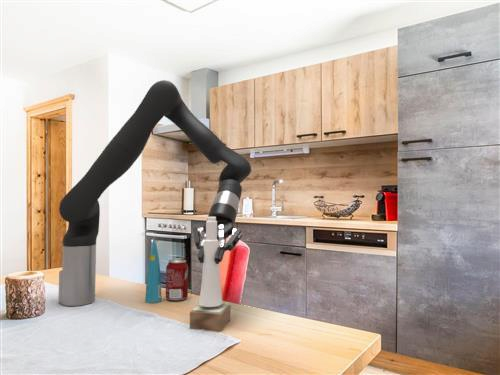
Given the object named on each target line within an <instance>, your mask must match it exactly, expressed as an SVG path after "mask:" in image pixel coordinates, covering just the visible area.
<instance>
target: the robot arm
mask: <svg viewBox="0 0 500 375" xmlns="http://www.w3.org/2000/svg"><path fill="white" fill-rule="evenodd" d="M164 117H165V118H166V119H168V120H169V121H170V122H172V123H173V124H174V125H175V126H176V127H177V128H179V129H180V131H182V132H183V133H184V135H186V137H187V138H188V139H189V141H190V142H192V144H193V145H194V146H195V147H196V148H197V150H198V151H199V152H200V153H201V154H202V155H203V156H204V157H205V158H206V160H208V161H209V162H210V163H211V164H213V165H215V164H218V163H220V162H224V163H225V164H227V165H226V166H224V167H223V169H222V170H221V171H220V173H219V177H218V178H219V179H218V188H217V192H216V195H215V196H214V198H213V201H212V202H211V203H212V204H211V207H210V210H209V212H208V216H207V217H216V221H217V240H218V241H219V247H218V249H217V252H216V255H215V263H216V264H219V265H220V263H221V262H223V258H224V255H225V252H226V251H229V252H232V251H233V250H234V248H235V247H236V245H237V244H238V243H239V242H240V240H241V239H242V238H243V232H242V229H241V228H239V227H238V228H234V226H235V224H236V219H237V216H238V213H239V207H240V201H241V198H242V193H243V188H242V185H241V183H242V182H243V181H244V180H246V178H247V177H249V175H250V174H251V172H252V166H251V163H250V162H249V161H248V160H249V159H247V157H244V156H243V155H242V154H239V153H238V152H237V151H235V150H233V149H232V148H230V147H228V145H226V144H225V143H224V142H223V141H222V140H221V139H220V138H219V137H218V135H216V134H215V133H214V132H213V131H212V129H210V128H209V127H208V126H206V125H205V124H204V123H203V122H201V121H200V120H199V118H197V117H196V116H195V115H194V114H193V113H192V112H191V110H190V109H189V107H188V106H187V105H186V104H185V102H184V101H183V99H182V97H181V93H180V92H179V90H178V87H177V86H176V85H175V84H174V83H173V82H172V81H170V80H165V79H164V80H158V81H156V82H154V84H152V85H151V86H150V87H149V89H148V91H146V94H145V95H144V97H143V99H142V100H141V102H140V104H139V105H138V106H137V108H136V110H135V111H134V112H133V114H132V115H131V116H130V117H129V118H128V119H127V120H126V122H125V123H124V125H123V126H121V128H120V129H119V130H118V132H117V133H116V134H115V135H114V136H113V137H112V139H111V140H110V141H109V142H108V143H107V145H106V146H105V147H104V149H103V150H102V151H101V153H100V154H99V156H98V157H96V159H95V161H94V162H93V164H92V165H91V166H90V168H89V169H88V170H87V172H86V173H85V175H83V177H82V178H81V179H80V180H79V181H78V182H77V183H76V184H75V185H74V186H73V187H72V188H71V189H70V190H69V191H68V192H67V193H66V194H65V195H64V196H63V198H62V199H61V200H60V203H59V208H58V209H59V210H58V211H59V215H60V217H61V219H62V220H64V221H66V222H68V225H67V231H66V233H65V234H64V235H63V237H62V260H61V262H62V263H61V264H62V265H61V266H62V267H61V270H59V272H58V301H57V302H58V304H61V305H63V306H67V307H77V306H84V305H89V304H91V303H94V302H95V301H96V272H97V271H96V270H97V268H96V266H97V263H96V262H97V237H98V236H99V232H100V216H101V213H100V212H101V210H100V209H101V208H100V202H99V200H100V199H99V198H101V196H102V194H103V193H104V192H105V191H106V190H107V188H109V187H110V186H111V185H112V184H114V183H115V182H116V181H118V179H120V178H121V177H122V176H123V175H125V174H126V173H127V172H128V170H130V168H132V166H133V165H134V164H135V162H136V161H137V159H139V157H140V156H141V155H142V153H143V151H144V149H145V147H146V145H147V143H148V141H149V139H150V137H151V134H152V132H153V130H154V129H155V127H156V126H157V125H158V124H159V122H161V120H162V119H163V118H164ZM207 220H208V219H207V218H206V221H207ZM192 231H193V241H194V245H195V248H196V249H197V250H198V253H197V255H196V256H197V260H198V262H199V263H200V264H203V256H204V240H206V223H205V224H204V225H203V226H202V227H199V228H198V227H197V226H194V227H193V228H192ZM203 233H204V235H203ZM202 236H203V239H202V241H201V237H202ZM228 238H229V239H228ZM227 239H228V240H227Z"/></svg>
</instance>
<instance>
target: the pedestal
mask: <svg viewBox="0 0 500 375" xmlns="http://www.w3.org/2000/svg"><path fill="white" fill-rule="evenodd" d="M231 310H232V308H231V304H229V303H222V304H221V305H220V306H216V307H204V306H201V305H199V304H198V305H197V306H195V307H194V308H193V309H192V310H190V311H189V329H190V330H191V329H193V330H201V329H204V330H203V331H212V332H213V331H214V332H222V331H223V330H224V329H225V327H226V326H227V325H228V324H229V323H230V322H231Z"/></svg>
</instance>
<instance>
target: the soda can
mask: <svg viewBox="0 0 500 375" xmlns="http://www.w3.org/2000/svg"><path fill="white" fill-rule="evenodd" d="M167 262H168V263H167V265H166V268H165V271H166V272H165V299H167V300H168V301H171V302H182V301H184V300H186V299H187V298H188V296H189V293H188V292H189V289H188V288H189V287H188V286H189V266H188V263H187V260H186V259H183V258H181V259H180V258H175V259H169V260H168V261H167Z"/></svg>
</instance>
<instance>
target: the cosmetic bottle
mask: <svg viewBox="0 0 500 375" xmlns="http://www.w3.org/2000/svg"><path fill="white" fill-rule="evenodd" d="M207 219H208V220H207ZM205 224H206V240H204V256H203V263H202V271H201V272H202V273H201V283H200V284H201V285H200V293H199V299H198V305H201V306H204V307H216V306H220V305H221V304H222V303H223V296H222V289H221V288H222V287H221V276H220V275H221V271H220V263H219V264H216V263H215V255H216V252H217V249H218V247H219V241H218V240H217V221H216V217H208V216H207V218H206V223H205ZM223 304H224V303H223Z"/></svg>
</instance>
